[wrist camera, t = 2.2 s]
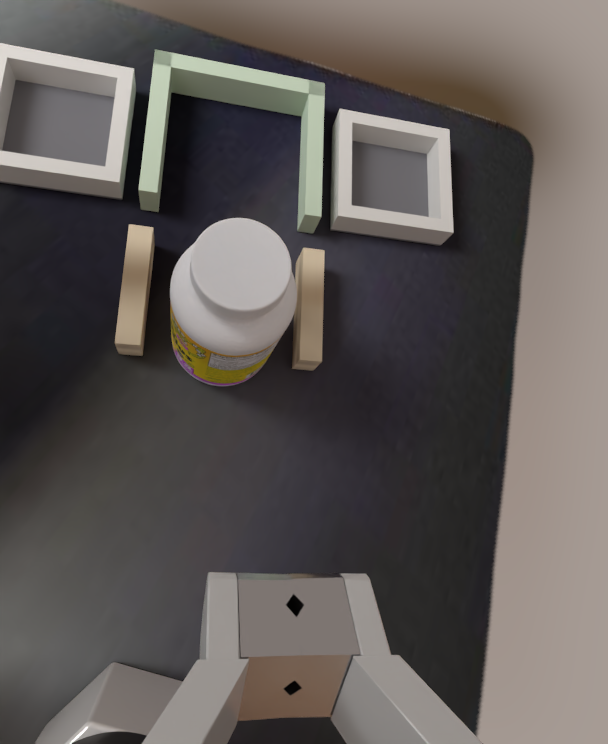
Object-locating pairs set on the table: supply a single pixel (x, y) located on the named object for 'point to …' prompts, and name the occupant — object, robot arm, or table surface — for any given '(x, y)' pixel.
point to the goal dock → (241, 90)
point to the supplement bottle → (231, 301)
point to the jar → (112, 708)
